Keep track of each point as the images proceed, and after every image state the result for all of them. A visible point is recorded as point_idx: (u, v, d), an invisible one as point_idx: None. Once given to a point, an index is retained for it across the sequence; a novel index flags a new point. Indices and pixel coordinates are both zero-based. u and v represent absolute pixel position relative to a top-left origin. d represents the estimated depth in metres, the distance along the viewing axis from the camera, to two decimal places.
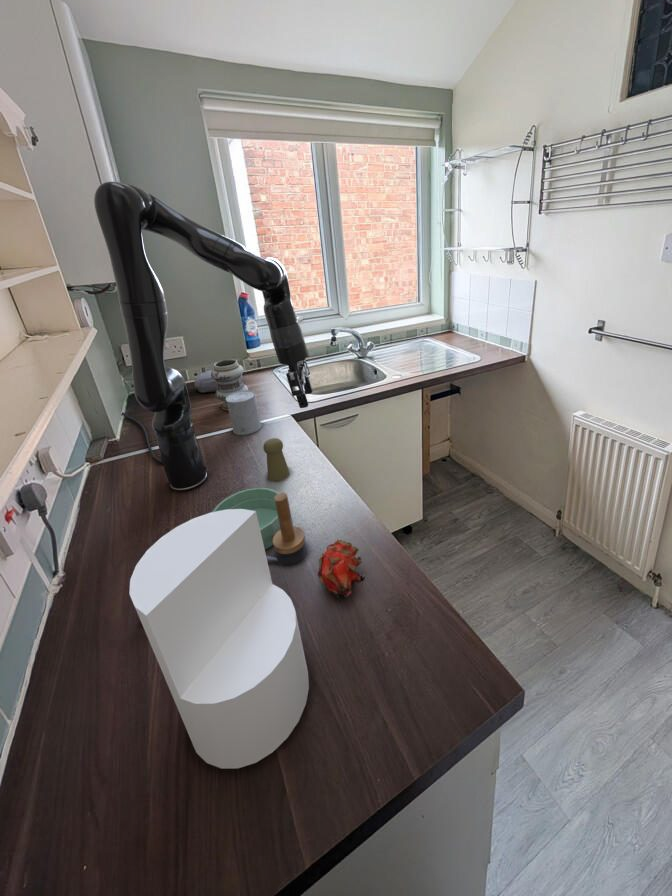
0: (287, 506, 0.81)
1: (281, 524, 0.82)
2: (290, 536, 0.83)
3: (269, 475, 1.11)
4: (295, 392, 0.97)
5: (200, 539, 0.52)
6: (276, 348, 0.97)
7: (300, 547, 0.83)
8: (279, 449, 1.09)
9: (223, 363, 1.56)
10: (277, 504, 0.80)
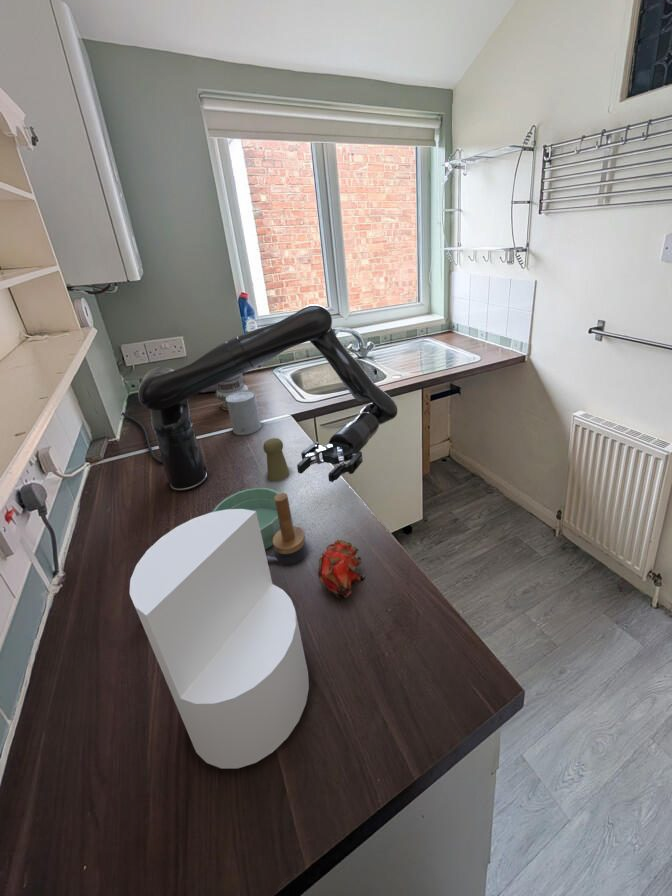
0: (287, 506, 0.81)
1: (281, 524, 0.82)
2: (290, 536, 0.83)
3: (269, 475, 1.11)
4: (352, 466, 0.91)
5: (200, 539, 0.52)
6: (357, 432, 1.01)
7: (300, 547, 0.83)
8: (279, 449, 1.09)
9: None
10: (277, 504, 0.80)
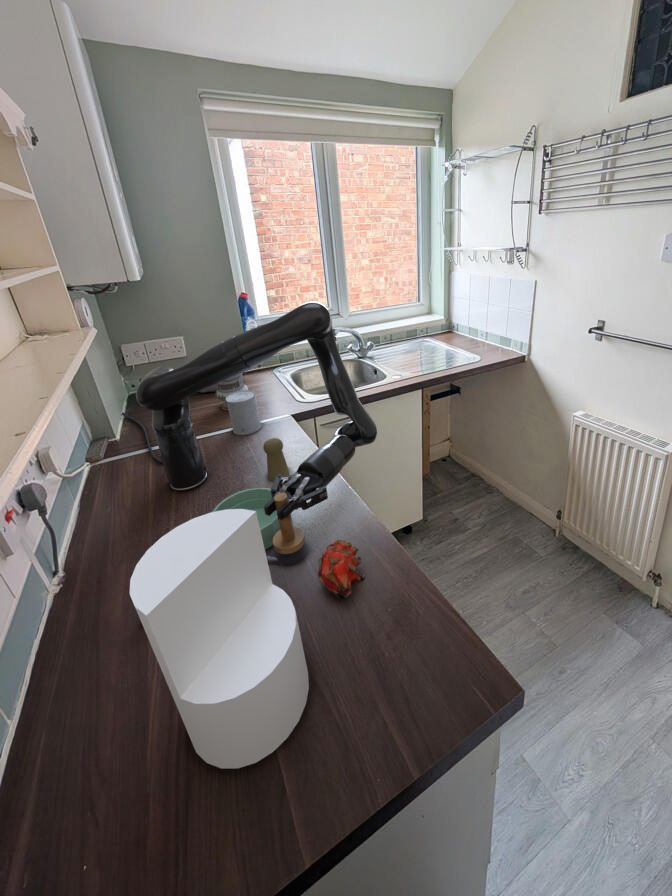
0: None
1: (281, 524, 0.82)
2: (290, 536, 0.83)
3: (269, 475, 1.11)
4: (306, 501, 0.81)
5: (200, 539, 0.52)
6: (329, 459, 0.90)
7: (300, 547, 0.83)
8: (279, 449, 1.09)
9: None
10: (277, 504, 0.80)
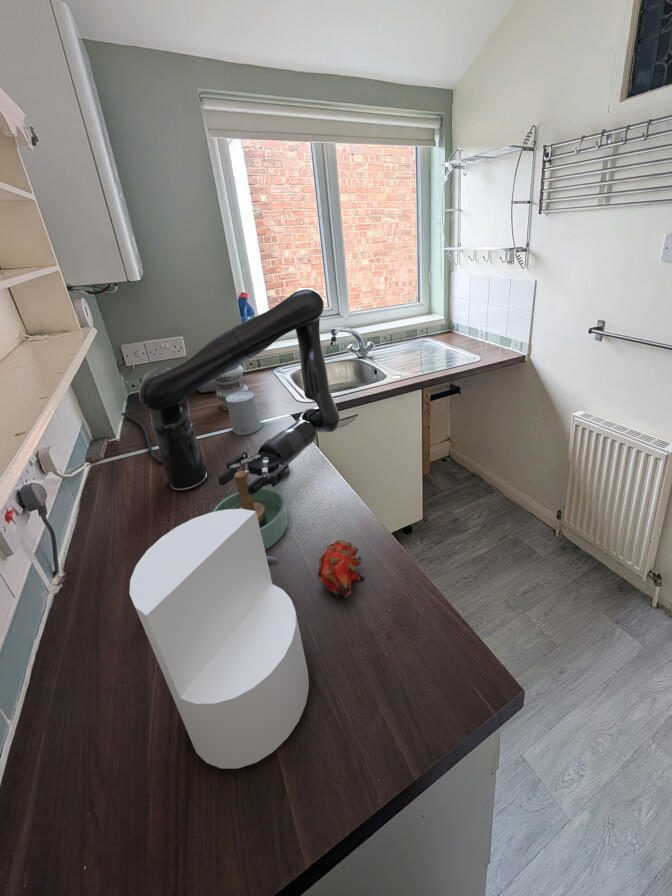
0: (246, 483, 0.88)
1: (241, 499, 0.89)
2: None
3: None
4: (275, 478, 0.88)
5: (200, 539, 0.52)
6: (288, 442, 0.97)
7: None
8: None
9: None
10: (237, 480, 0.87)
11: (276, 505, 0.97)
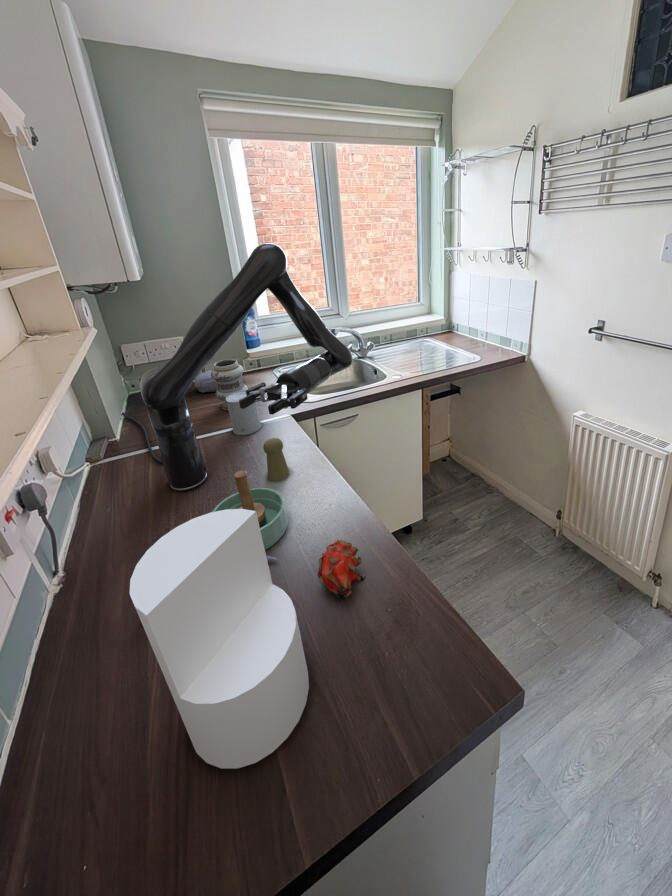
0: (246, 483, 0.88)
1: (241, 499, 0.89)
2: None
3: (269, 475, 1.11)
4: (294, 401, 0.90)
5: (200, 539, 0.52)
6: (305, 372, 1.00)
7: None
8: (279, 449, 1.09)
9: (223, 363, 1.56)
10: (237, 480, 0.87)
11: (276, 505, 0.97)
